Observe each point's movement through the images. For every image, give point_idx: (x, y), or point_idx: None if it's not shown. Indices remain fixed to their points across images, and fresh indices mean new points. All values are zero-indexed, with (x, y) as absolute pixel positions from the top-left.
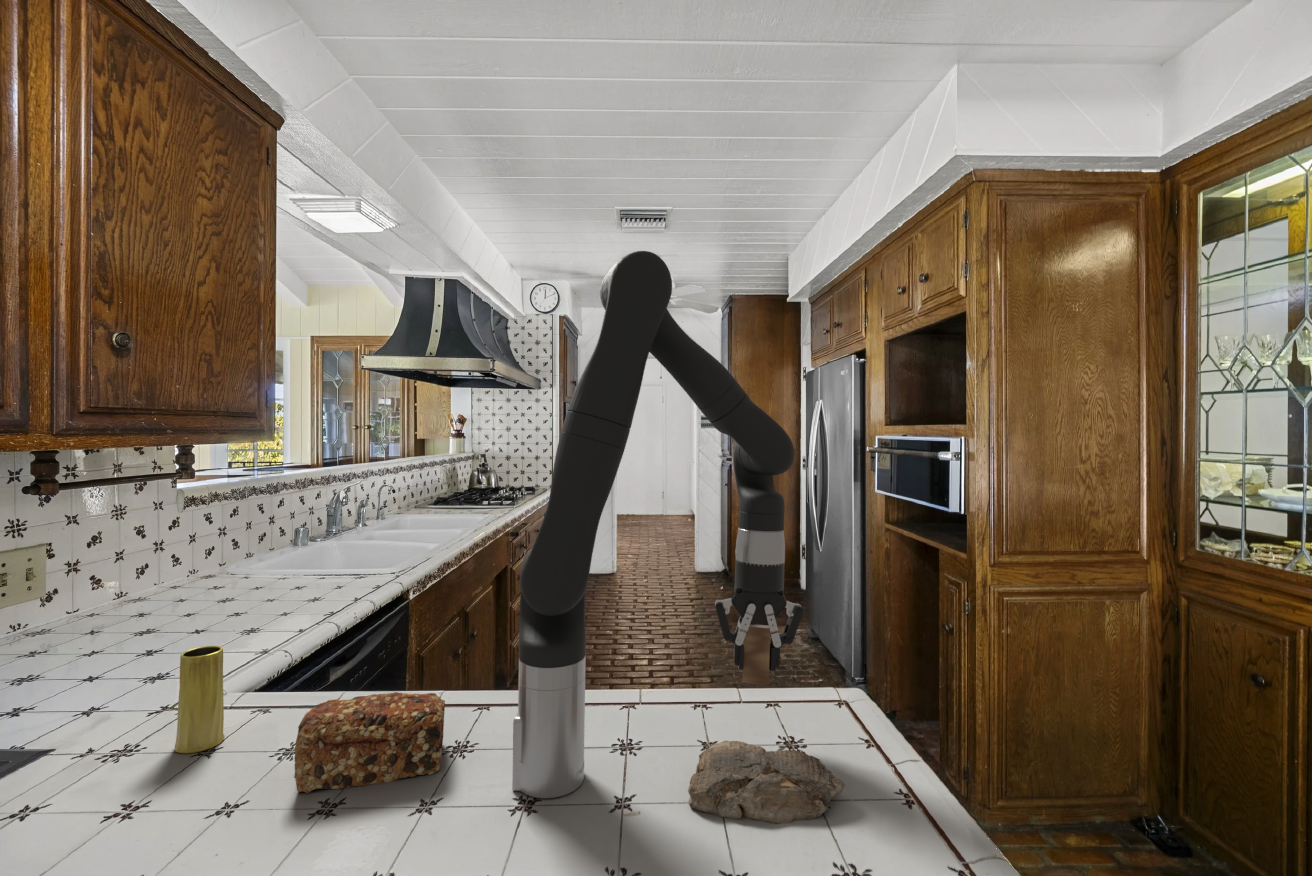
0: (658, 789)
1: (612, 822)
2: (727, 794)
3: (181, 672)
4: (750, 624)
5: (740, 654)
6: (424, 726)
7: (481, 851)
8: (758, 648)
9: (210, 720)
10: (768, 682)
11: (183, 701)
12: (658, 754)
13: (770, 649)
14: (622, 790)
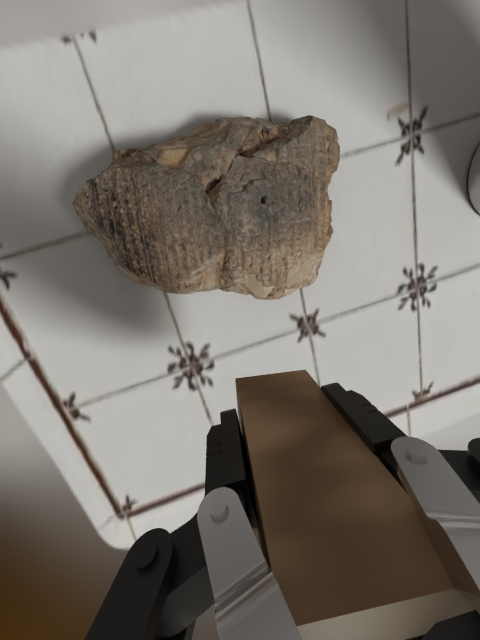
0: (367, 185)
1: (421, 80)
2: (275, 132)
3: None
4: (459, 616)
5: (362, 412)
6: None
7: None
8: (303, 458)
9: None
10: (236, 382)
11: None
12: (374, 280)
13: (248, 483)
14: (414, 170)
